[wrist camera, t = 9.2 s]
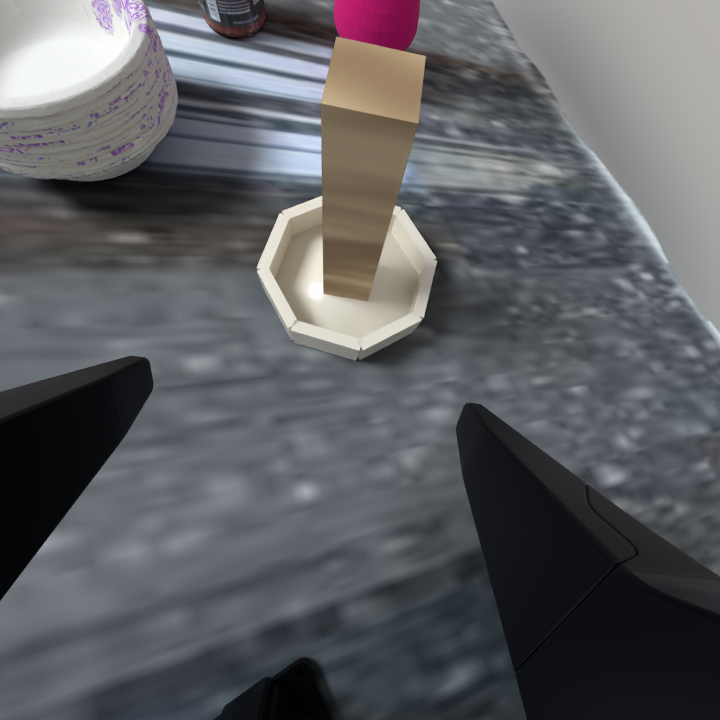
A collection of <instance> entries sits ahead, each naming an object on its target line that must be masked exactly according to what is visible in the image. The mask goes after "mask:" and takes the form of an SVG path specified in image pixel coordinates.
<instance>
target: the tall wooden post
mask: <svg viewBox="0 0 720 720" xmlns="http://www.w3.org/2000/svg"><path fill="white" fill-rule="evenodd" d="M425 59H426V56H423V55H418V54H414V53H409V52H405V51H400V50H396V49H391V48H387V47H382V46H377V45H373V44H368V43H364V42H359V41H355V40H350V39H346V38H341V37H336V40H335V45H334V49H333V54H332V58H331V62H330V67H329V71H328V75H327V80H326V84H325V89H324V93H323V97H322V102H321V138H322V227H323V294H327V295H333V296H339V297H345V298H351V299H357V300H362V301H368V299H369V295H370V292H371V288H372V285H373V281H374V278H375V274H376V271H377V267H378V264H379V260H380V257H381V253H382V249H383V246H384V242H385V239H386V235H387V232H388V228H389V225H390V221H391V218H392V214H393V211H394V207H395V204H396V200H397V197H398V193H399V190H400V186H401V183H402V179H403V176H404V172H405V169H406V165H407V162H408V158H409V155H410V151H411V148H412V144H413V140H414V137H415V133H416V130H417V126H418V122H419V113H420V104H421V95H422V86H423V77H424V68H425Z"/></svg>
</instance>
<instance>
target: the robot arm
mask: <svg viewBox="0 0 720 720" xmlns="http://www.w3.org/2000/svg"><path fill="white" fill-rule="evenodd" d="M152 389H153V378H152V372H151V366H150V362H149V360H148V359H147V358H144V357H137V356H128V357H124V358H121V359H117V360H114V361H110V362H106V363H103V364H99V365H96V366H92V367H88V368H85V369H81V370H77V371H74V372H70V373H67V374H63V375H59V376H56V377H52V378H49V379H45V380H41V381H38V382H34V383H31V384H27V385H23V386H20V387H16V388H13V389H9V390H5V391H2V392H0V601H1V599H2V598H3V597H4V595H5V594H6V593H7V591H8V590H9V589H10V587H11V586H12V585H13V583H14V582H15V581H16V579H17V578H18V577H19V575H20V574H21V573H22V572H23V570H24V569H25V568H26V566H27V565H28V564H29V562H30V561H31V560H32V558H33V557H34V556H35V554H36V553H37V552H38V550H39V549H40V548H41V546H42V545H43V544H44V543H45V541H46V540H47V539H48V537H49V536H50V535H51V533H52V532H53V531H54V529H55V528H56V527H57V525H58V524H59V523H60V521H61V520H62V519H63V517H64V516H65V515H66V513H67V512H68V511H69V510H70V508H71V507H72V506H73V504H74V503H75V502H76V500H77V499H78V498H79V496H80V495H81V494H82V492H83V491H84V490H85V488H86V487H87V486H88V484H89V483H90V482H91V481H92V479H93V478H94V477H95V475H96V474H97V473H98V471H99V470H100V469H101V467H102V466H103V465H104V463H105V462H106V461H107V459H108V458H109V457H110V455H111V454H112V453H113V452H114V450H115V449H116V448H117V446H118V445H119V444H120V442H121V441H122V439H123V438H124V437H125V435H126V434H127V432H128V430H129V429H130V427H131V426H132V424H133V422H134V421H135V419H136V417H137V415H138V414H139V412H140V410H141V409H142V407H143V405H144V404H145V402H146V400H147V399H148V397H149V395H150V394H151V392H152ZM456 434H457V441H458V448H459V455H460V462H461V469H462V475H463V480H464V484H465V488H466V492H467V495H468V499H469V503H470V507H471V510H472V514H473V518H474V521H475V525H476V529H477V533H478V536H479V540H480V544H481V548H482V551H483V555H484V559H485V563H486V566H487V570H488V574H489V578H490V581H491V585H492V589H493V592H494V596H495V600H496V604H497V607H498V611H499V615H500V619H501V622H502V626H503V630H504V634H505V637H506V641H507V645H508V649H509V652H510V656H511V660H512V664H513V667H514V670H515V671H516V673H515V676H516V679H517V683H518V687H519V691H520V694H521V698H522V702H523V706H524V709H525V713H526V717H527V720H720V576H719V575H717V574H716V573H714V572H713V571H711V570H710V569H708V568H707V567H705V566H704V565H702V564H701V563H699V562H698V561H696V560H695V559H693V558H692V557H691V556H689V555H688V554H686V553H685V552H683V551H682V550H680V549H679V548H677V547H676V546H674V545H673V544H671V543H670V542H668V541H667V540H665V539H664V538H662V537H661V536H659V535H658V534H656V533H655V532H654V531H652V530H651V529H649V528H648V527H646V526H645V525H643V524H642V523H640V522H639V521H638V520H636V519H635V518H633V517H632V516H630V515H629V514H627V513H626V512H625V511H623V510H622V509H620V508H619V507H618V506H616V505H615V504H614V503H612V502H611V501H609V500H608V499H607V498H605V497H604V496H603V495H601V494H600V493H598V492H597V491H596V490H595V489H593V488H592V487H591V486H589V485H586V484H585V482H584V481H582V480H581V479H580V478H578V477H577V476H576V475H574V474H573V473H572V472H570V471H569V470H568V469H566V468H565V467H564V466H562V465H561V464H560V463H558V462H557V461H556V460H554V459H553V458H552V457H550V456H549V455H548V454H546V453H545V452H544V451H542V450H541V449H540V448H538V447H537V446H536V445H534V444H533V443H532V442H530V441H529V440H528V439H526V438H525V437H524V436H522V435H521V434H520V433H518V432H517V431H516V430H514V429H513V428H512V427H510V426H509V425H508V424H506V423H505V422H504V421H502V420H501V419H500V418H498V417H497V416H496V415H494V414H493V413H492V412H490V411H489V410H488V409H486V408H485V407H483V406H482V405H480V404H475V403H466V404H465V405H464V407H463V410H462V412H461V415H460V417H459V420H458V423H457V426H456ZM299 668H304V669H305V672H304V673H303V674H299V673H298V672H297V670H298V669H299ZM214 720H335V719H334V716H333V714H332V712H331V710H330V707H329V705H328V703H327V701H326V699H325V696H324V694H323V692H322V690H321V688H320V685H319V683H318V681H317V679H316V676H315V674H314V672H313V670H312V668H311V665H310V663H309V662H308V660H307V659H305V658H300V659H298V660H296V661H295V662H293V663H292V664H291V665H289V666H288V667H286V668H285V669H284V670H282V671H281V672H279V673H278V674H277V675H275V676H274V677H272V678H271V677H265V678H263V679H262V680H260V681H259V682H258V683H256V684H255V685H254V686H252V687H251V688H249V689H248V690H247V691H245V692H244V693H242V694H241V695H240V696H238V697H237V698H235V699H234V700H233V701H231V702H230V703H228V704H227V705H226V706H225V707H224V709H223V711H222V714H221V715H220V716H218V717H217V718H216V719H214Z"/></svg>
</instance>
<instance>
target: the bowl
mask: <svg viewBox="0 0 720 720" xmlns="http://www.w3.org/2000/svg"><path fill="white" fill-rule="evenodd" d="M400 209H401V207H397V206H395V207H394V211H393V214H392V218H391V221H390V225H389V228H388V232H387V235H386V239H385V242H384V246H383V249H382V253H381V257H380V260H379V264H378V267H377V271H376V274H375V278H374V281H373V285H372V288H371V292H370V295H369V299H368V301H362V300H357V299H351V298H345V297H339V296H333V295H327V294H323V227H322V196H320V197H318V198H315V199H313V200H310V201H307V202H305V203H302V204H300V205H297V206H294V207H292V208H289V209H287V210H284V211H282V214H279V216H278V219H277V221H276V223H275V226H274V228H273V230H272V233H271V235H270V237H269V240H268V242H267V245H266V247H265V249H264V252H263V254H262V256H261V259H260V261H259V263H258V266H257V270H258V271H257V272H258V275H259V278H260V280H261V283H262V286H263V288H264V290H265V292H266V294H267V296H268V298H269V300H270V301H271V303H272V305H273V307H274V309H275V311H276V313H277V314H278V316H279V318H280V320H281V322H282V324H283V326H284V327H285V329H286V331H287V333H288V335H289V337H290V339H291V340H294V343H297V344H301V345H304V346H307V347H311V348H314V349H318V350H321V351H324V352H328V353H331V354H335V355H338V356H341V357H345V358H348V359H352V360H355V361H356V359H357V357H358V359H359V360H361V359H363V358H365V357H367V356H369V355H371V354H373V353H375V352H377V351H378V350H380V349H382V348H384V347H386V346H388V345H390V344H392V343H394V342H396V341H398V340H400V339H401V338H403V337H405V336H407V335H409V334H411V333H413V331H414V330H415V329H416V327H417V326H418V325H419V323H420V322H421V321H422V319H423V318H424V315H425V310H426V306H427V302H428V298H429V293H430V289H431V285H432V281H433V276H434V272H435V268H436V264H437V261H435V260H436V257H435V255H434V254H433V252H432V251H431V249H430V248H429V246H428V245H427V243H426V242H425V240H424V239H423V237H422V236H421V235H420V233H419V232H418V230H417V229H416V227H415V226H414V224H413V223H412V221H411V220H410V218H409V217H408V215H407V214H406V212H405V211H404V209H403V210H401V211H400Z"/></svg>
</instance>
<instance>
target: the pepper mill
mask: <svg viewBox="0 0 720 720" xmlns="http://www.w3.org/2000/svg"><path fill="white" fill-rule="evenodd" d="M419 10H420V0H335V5H334V21H335V26H336V29H337V32H338V34H339V36H340V37H341V38H346V39H350V40H355V41H359V42H364V43H368V44H373V45H377V46H382V47H387V48H391V49H396V50H400V51H405V50H406V49H407V48H408V47H409V46H410V44H411V42H412V41H413V39H414V37H415V34H416V31H417V25H418V19H419Z"/></svg>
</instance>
